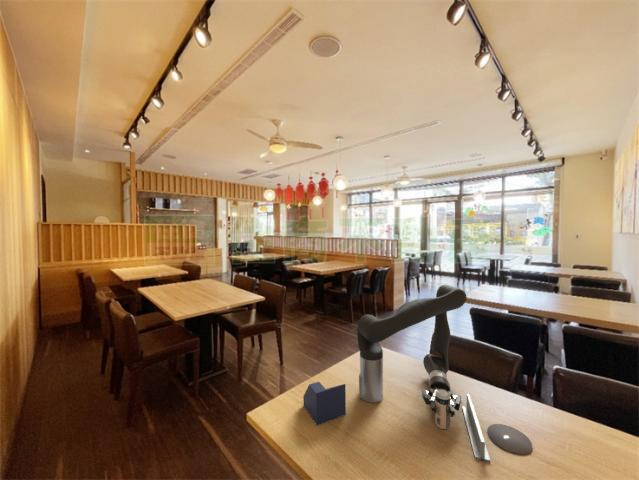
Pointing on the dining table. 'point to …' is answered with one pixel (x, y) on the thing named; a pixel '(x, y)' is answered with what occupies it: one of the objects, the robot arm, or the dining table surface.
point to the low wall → (475, 432)
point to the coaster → (509, 439)
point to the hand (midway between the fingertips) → (443, 412)
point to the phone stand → (325, 402)
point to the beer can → (442, 409)
